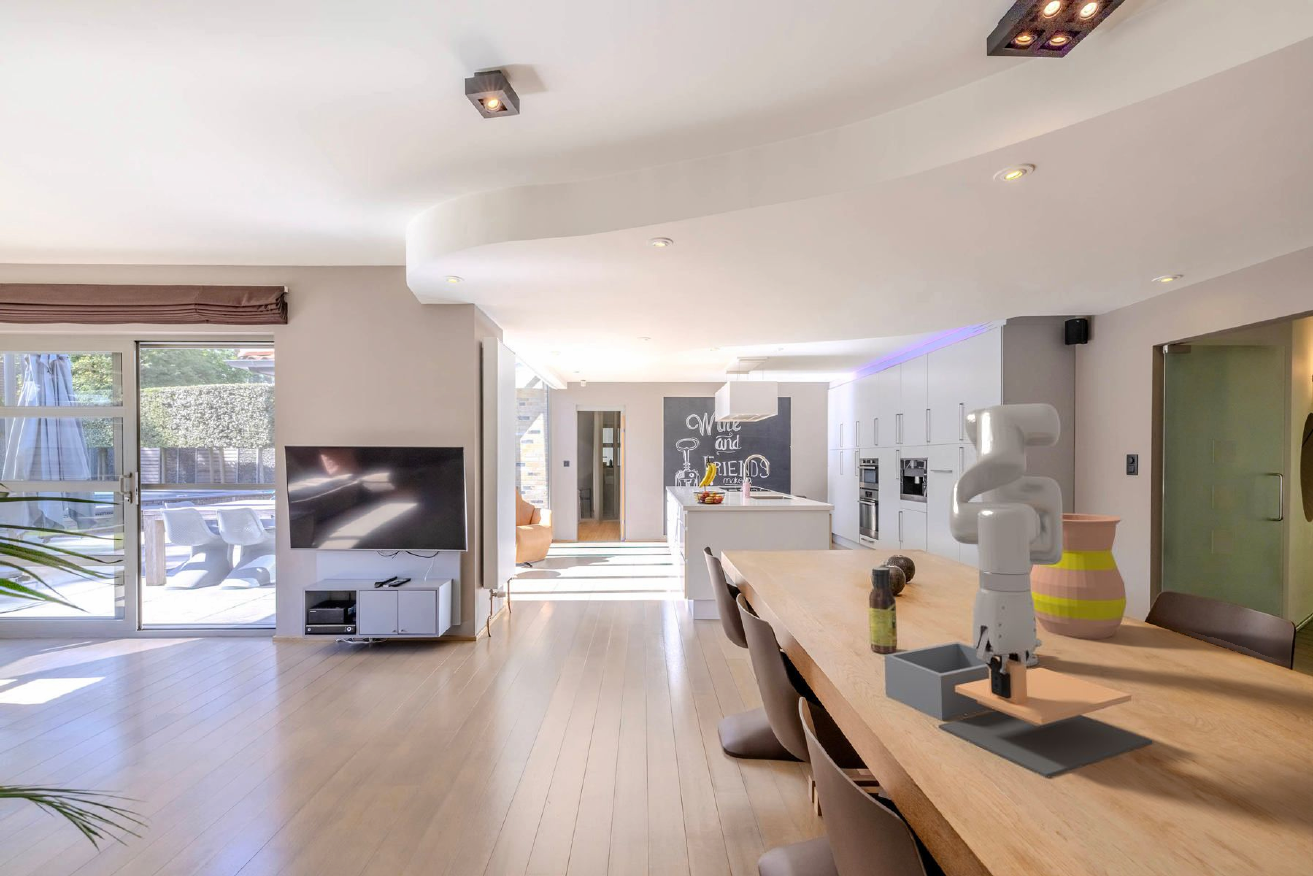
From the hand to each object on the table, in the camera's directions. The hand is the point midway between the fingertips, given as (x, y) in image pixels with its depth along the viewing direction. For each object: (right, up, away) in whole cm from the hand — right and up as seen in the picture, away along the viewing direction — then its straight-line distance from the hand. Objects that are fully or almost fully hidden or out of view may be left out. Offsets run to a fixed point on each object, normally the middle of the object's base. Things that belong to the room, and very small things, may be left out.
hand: (1007, 693), depth 110 cm
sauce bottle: (-3, -10, +52) cm, 53 cm away
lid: (+7, -3, +3) cm, 9 cm away
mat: (+7, -8, +3) cm, 12 cm away
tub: (0, -9, +21) cm, 22 cm away
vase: (+53, -9, +67) cm, 86 cm away
